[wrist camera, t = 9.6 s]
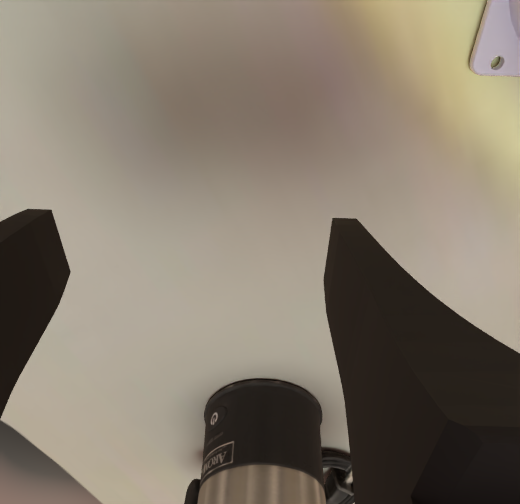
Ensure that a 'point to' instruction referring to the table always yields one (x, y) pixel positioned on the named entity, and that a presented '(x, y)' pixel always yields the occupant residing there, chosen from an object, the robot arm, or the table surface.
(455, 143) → the table surface
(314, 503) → the milk frother
